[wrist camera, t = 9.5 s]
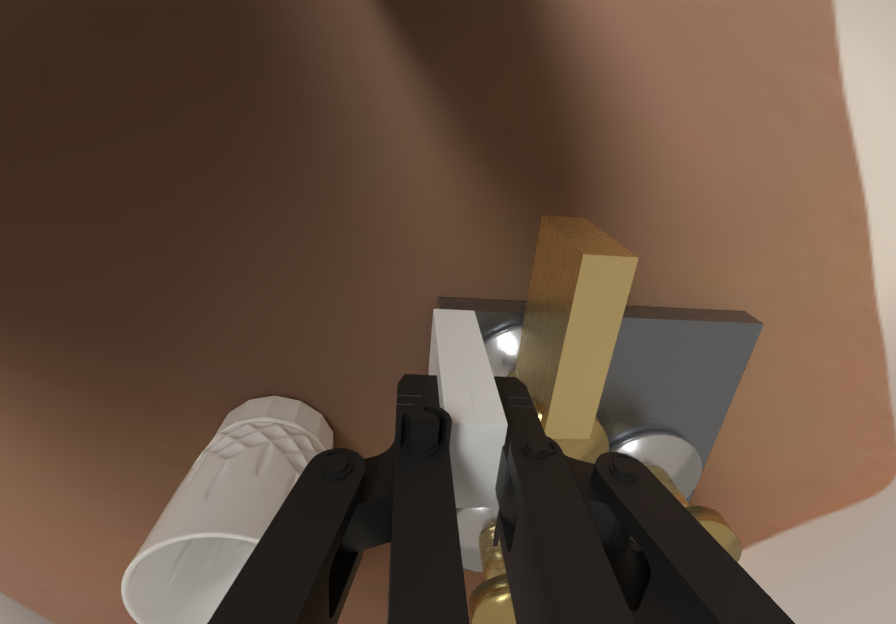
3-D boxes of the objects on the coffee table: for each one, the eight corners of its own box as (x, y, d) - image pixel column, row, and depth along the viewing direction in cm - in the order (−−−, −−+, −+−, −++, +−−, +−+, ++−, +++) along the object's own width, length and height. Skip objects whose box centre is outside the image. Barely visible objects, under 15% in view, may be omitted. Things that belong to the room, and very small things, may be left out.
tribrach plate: (438, 297, 26) (442, 324, 23) (745, 311, 28) (785, 338, 25) (416, 550, 34) (417, 594, 31) (652, 547, 36) (674, 588, 33)
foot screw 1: (447, 551, 31) (456, 650, 25) (487, 503, 29) (506, 598, 24) (586, 600, 34) (620, 696, 29) (629, 559, 33) (673, 652, 27)
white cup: (183, 413, 27) (76, 573, 18) (306, 367, 27) (257, 509, 18) (255, 502, 31) (194, 673, 22) (365, 463, 30) (349, 623, 21)
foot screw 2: (561, 422, 27) (600, 506, 22) (478, 420, 26) (497, 507, 21) (609, 216, 22) (676, 259, 17) (508, 209, 21) (543, 252, 16)
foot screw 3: (602, 471, 29) (647, 560, 24) (677, 442, 28) (741, 525, 23) (648, 580, 34) (694, 674, 29) (713, 557, 33) (772, 648, 28)
